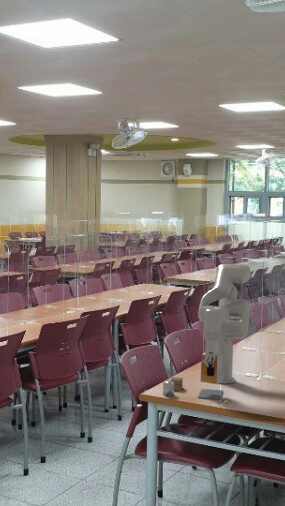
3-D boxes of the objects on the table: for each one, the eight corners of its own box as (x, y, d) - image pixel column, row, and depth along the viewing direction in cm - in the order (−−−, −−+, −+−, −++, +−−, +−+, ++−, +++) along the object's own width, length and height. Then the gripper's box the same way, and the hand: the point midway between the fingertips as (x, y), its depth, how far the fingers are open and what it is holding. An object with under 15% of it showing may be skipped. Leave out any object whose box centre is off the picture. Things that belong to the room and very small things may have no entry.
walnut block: (172, 387, 311) (172, 376, 311) (182, 388, 310) (182, 377, 310) (170, 389, 306) (170, 379, 306) (180, 390, 305) (181, 380, 305)
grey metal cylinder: (163, 392, 301) (164, 380, 300) (174, 393, 300) (174, 380, 299) (162, 395, 296) (162, 382, 295) (172, 396, 295) (173, 383, 294)
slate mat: (201, 390, 307) (201, 388, 307) (223, 391, 305) (223, 390, 304) (198, 398, 293) (198, 396, 293) (220, 399, 291) (220, 398, 291)
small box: (200, 382, 297) (201, 353, 297) (205, 379, 303) (206, 351, 302) (216, 384, 293) (217, 356, 293) (221, 381, 299) (222, 353, 298)
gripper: (206, 332, 306) (205, 369, 307) (201, 338, 289) (200, 377, 290) (222, 332, 305) (221, 370, 306) (218, 339, 288) (217, 378, 289)
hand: (211, 373), depth 298 cm, fingers closed on small box, 7 cm apart
